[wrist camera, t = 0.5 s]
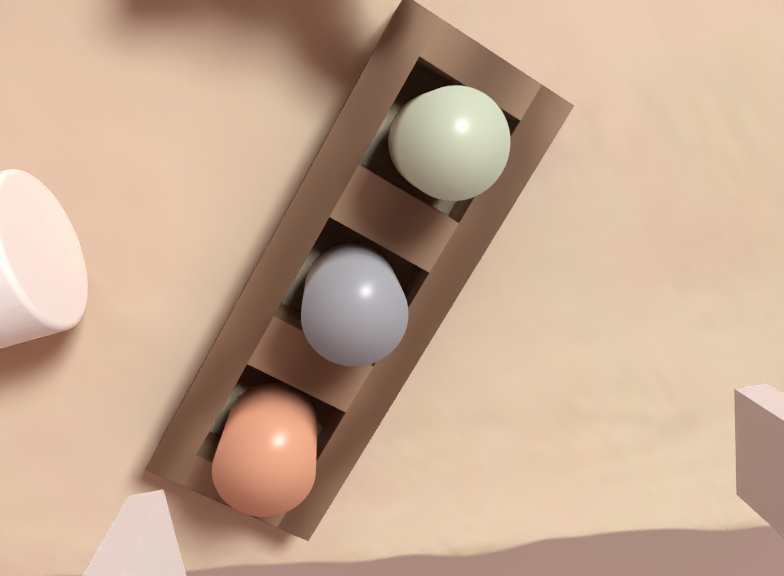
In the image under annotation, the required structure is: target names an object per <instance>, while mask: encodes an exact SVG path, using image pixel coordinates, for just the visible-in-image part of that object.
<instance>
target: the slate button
mask: <svg viewBox="0 0 784 576" xmlns="http://www.w3.org/2000/svg"><path fill="white" fill-rule="evenodd" d="M301 323H302V328H303V331H304V334H305V337H306V338H307V340H308V342H309V344H310V345H311V346H312V348H313V349H314V350H315V351H316V352H317V353H318V354H320V355H321V356H322V357H324V358H325V359H327V360H329V361H331V362H333V363H336V364H339V365H343V366H355V367H356V366H364V365H369V364H372V363H375V362H377V361H379V360H381V359H383V358H384V357H386V356H387V355H388V354H390V353H391V352H392V351H393V350H394V349H395V348H396V347H397V346H398V344H399V343H400V341H401V340H402V338H403V336H404V334H405V331H406V328H407V323H408V305H407V301H406V298H405V295H404V293H403V290H402V288H401V286H400V284H399V282H398V280H397V277H396V275H395V273H394V271H393V269H392V267H391V265H390V264H389V262H388V261H387V260H386V259H385V258H384V256H382V255H381V254H380V253H379V252H377V251H376V250H374V249H372V248H370V247H368V246H364V245H360V244H342V245H338V246H335V247H332V248H330V249H328V250H327V251H325V252H324V253H322V254H321V255H320V256H319V257H318V258H317V259H316V260H315V261H314V262H313V264H312V265H311V267H310V269H309V271H308V273H307V277H306V281H305V287H304V294H303V301H302V308H301Z"/></svg>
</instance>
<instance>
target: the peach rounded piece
mask: <svg viewBox="0 0 784 576" xmlns="http://www.w3.org/2000/svg"><path fill="white" fill-rule="evenodd" d="M316 451H317V415H316V411H315V409H314V407H313V405H312V403H311V402H310V400H309V399H308V398H307V397H306V396H305V395H304V394H303V393H302V392H300V391H299V390H297V389H296V388H294V387H291V386H289V385H285V384H281V383H265V384H260V385H257V386H254V387H252V388H250V389H248V390H247V391H245V392H244V393H243V394H241V395H240V396H239V397H238V399H237V400H236V401H235V403H234V404H233V406H232V408H231V410H230V413H229V416H228V419H227V422H226V424H225V427H224V430H223V433H222V436H221V439H220V442H219V445H218V448H217V451H216V453H215V456H214V460H213V464H212V478H213V482H214V486H215V488H216V490H217V492H218V493H219V495H220V497H221V498H222V499H223V500H224V501H225V502H226V503H227V504H228V505H229V506H231V507H232V508H234V509H235V510H237V511H239V512H241V513H244V514H247V515H251V516H257V517H270V516H276V515H280V514H283V513H286V512H288V511H290V510H292V509H293V508H295V507H296V506H298V505H299V504H300V503H301V502H302V501H303V500H304V499H305V498H306V497H307V495H308V494H309V493H310V491H311V489H312V487H313V484H314V481H315V476H316Z"/></svg>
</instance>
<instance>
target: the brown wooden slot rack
mask: <svg viewBox="0 0 784 576" xmlns="http://www.w3.org/2000/svg"><path fill="white" fill-rule="evenodd" d="M414 65H417V66H419V67H420V68H422V69H423V70H425V71H426V72H428V73H430V74H431V75H433V76H434V77H436V78H437V79H439V80H441V81H442V82H444V83H445V84H447V85H449V86H455V85H458V86H466V87H471V88H474V89H476V90H479V91H481V92H482V93H484V94H486V95H487V96H488V97H490V98H491V99H492V100H493V101H494V102H495V103H496V104H497V105H498V107H499V108H500V109H501V111H502V112H503V114H504V116H505V118H506V121H507V124H508V127H509V132H510V152H509V157H508V160H507V163H506V166H505V168H504V170H503V172H502V173H501V175H500V176H499V178H498V179H497V180H496V181H495V183H494V184H493V185H492V186H491V187H489V188H488V189H487V190H486V191H484V192H483V193H481V194H479V195H477V196H475V197H473V198H470V199H466V200H461V201H457V202H456V204H455V206H454V207H453V209H452V211H451V213H450V214H449V216H448V215H446V214H445V213H443V212H441V211H439V210H438V209H436V208H434V207H433V206H431V205H429V204H427V203H426V202H424V201H422V200H421V199H419V198H417V197H415V196H414V195H412V194H410V193H409V192H407V191H405V190H403V189H402V188H400V187H398V186H397V185H395V184H393V183H391V182H390V181H388V180H386V179H385V178H383V177H381V176H379V175H378V174H376V173H374V172H373V171H371V170H369V169H367V168H366V167H364V166H362V165H361V164H359V163H360V161H361V160H362V158H363V156H364V154H365V152H366V151H367V149H368V147H369V145H370V143H371V142H372V140H373V138H374V136H375V135H376V133H377V131H378V129H379V127H380V126H381V124H382V122H383V120H384V118H385V117H386V115H387V113H388V111H389V110H390V108H391V106H392V104H393V102H394V101H395V99H396V97H397V95H398V93H399V92H400V90H401V88H402V86H403V85H404V83H405V81H406V79H407V77H408V76H409V74H410V72H411V70H412V68H413V67H414ZM573 107H574V105H572V104H571V103H569V102H568V101H566V100H565V99H563V98H561V97H560V96H558V95H557V94H555V93H554V92H552V91H551V90H549V89H548V88H546V87H545V86H543V85H542V84H540V83H539V82H537V81H536V80H534V79H532V78H531V77H529V76H528V75H526V74H525V73H523V72H522V71H520V70H519V69H517V68H516V67H514V66H513V65H511V64H510V63H508V62H507V61H505V60H504V59H502V58H500V57H499V56H497V55H496V54H494V53H493V52H491V51H490V50H488V49H487V48H485V47H484V46H482V45H481V44H479V43H478V42H476V41H475V40H473V39H471V38H470V37H468V36H467V35H465V34H464V33H462V32H461V31H459V30H458V29H456V28H455V27H453V26H452V25H450V24H449V23H447V22H446V21H444V20H442V19H441V18H439V17H438V16H436V15H435V14H433V13H432V12H430V11H429V10H427V9H426V8H424V7H423V6H421V5H420V4H418V3H417V2H415V1H414V0H402V1H401V3H400V4H399V6H398V8H397V10H396V12H395V13H394V15H393V17H392V19H391V21H390V23H389V24H388V26H387V28H386V30H385V32H384V33H383V35H382V37H381V39H380V41H379V43H378V44H377V46H376V48H375V50H374V52H373V54H372V55H371V57H370V59H369V61H368V63H367V65H366V66H365V68H364V70H363V72H362V74H361V76H360V77H359V79H358V81H357V83H356V85H355V87H354V88H353V90H352V92H351V94H350V96H349V98H348V99H347V101H346V103H345V105H344V107H343V109H342V110H341V112H340V114H339V116H338V118H337V120H336V121H335V123H334V125H333V127H332V129H331V131H330V132H329V134H328V136H327V138H326V140H325V142H324V143H323V145H322V147H321V149H320V151H319V152H318V154H317V156H316V158H315V160H314V162H313V163H312V165H311V167H310V169H309V171H308V173H307V174H306V176H305V178H304V180H303V182H302V184H301V185H300V187H299V189H298V191H297V193H296V195H295V196H294V198H293V200H292V202H291V204H290V206H289V207H288V209H287V211H286V213H285V215H284V217H283V218H282V220H281V222H280V224H279V226H278V228H277V229H276V231H275V233H274V235H273V237H272V239H271V240H270V242H269V244H268V246H267V248H266V250H265V251H264V253H263V255H262V257H261V259H260V261H259V262H258V264H257V266H256V268H255V270H254V271H253V273H252V275H251V277H250V279H249V281H248V282H247V284H246V286H245V288H244V290H243V292H242V293H241V295H240V297H239V299H238V301H237V303H236V304H235V306H234V308H233V310H232V312H231V314H230V315H229V317H228V319H227V321H226V323H225V325H224V326H223V328H222V330H221V332H220V334H219V336H218V337H217V339H216V341H215V343H214V345H213V347H212V348H211V350H210V352H209V354H208V356H207V358H206V359H205V361H204V363H203V365H202V367H201V369H200V370H199V372H198V374H197V376H196V378H195V380H194V381H193V383H192V385H191V387H190V389H189V391H188V392H187V394H186V396H185V398H184V400H183V401H182V403H181V405H180V407H179V409H178V411H177V412H176V414H175V416H174V418H173V420H172V422H171V423H170V425H169V427H168V429H167V431H166V433H165V434H164V436H163V438H162V440H161V442H160V444H159V445H158V447H157V449H156V451H155V453H154V455H153V457H152V459H151V460H150V462H149V464H148V466H147V468H146V470H147V471H150V472H152V473H154V474H156V475H159V476H161V477H163V478H166V479H168V480H170V481H172V482H175V483H177V484H179V485H182V486H184V487H186V488H188V489H191V490H193V491H195V492H197V493H200V494H202V495H204V496H207V497H209V498H211V499H213V500H216V501H218V502H220V503H223V504H225V505H227V506H229V505H228V504H227V503H226V502H225V501H224V500H223V499H222V498H221V497H220V495H219V493H218V492H217V490H216V488H215V486H214V482H213V478H212V464H213V460H214V456H215V453H216V451H217V448H218V445H219V442H220V439H221V437H219V436H217V435H215V434H213V433H211V432H209V431H210V429H211V428H212V426H213V424H214V422H215V421H216V419H217V417H218V415H219V413H220V412H221V410H222V408H223V406H224V404H225V403H226V401H227V399H228V397H229V395H230V394H231V392H232V390H233V388H234V387H235V385H236V383H237V381H238V379H239V378H240V376H241V374H242V372H243V370H244V369H245V367H246V365H247V364H248V365H250V366H252V367H254V368H256V369H258V370H260V371H262V372H264V373H266V374H269V375H271V376H273V377H275V378H277V379H279V380H281V381H283V382H285V383H287V384H289V385H291V386H293V387H295V388H297V389H299V390H301V391H303V392H305V393H307V394H309V395H311V396H313V397H315V398H317V399H319V400H321V401H324V402H326V403H328V404H330V405H332V406H334V407H335V408H334V410H333V411H332V413H331V415H330V416H329V418H328V420H327V421H326V423H325V425H324V426H323V428H322V430H321V431H320V433H319V435H318V437H317V451H316V476H315V481H314V484H313V487H312V489H311V491H310V493H309V494H308V495H307V497H306V498H305V499H304V500H303V501H302V502H301V503H300V504H299V505H298V506H296V507H295V508H293V509H292V510H290V511H288V512H286V513H283V514H280V515H276V516H270V517H257V516H252V517H254V518H257V519H259V520H261V521H264V522H266V523H268V524H270V525H273V526H275V527H277V528H280V529H282V530H284V531H286V532H289V533H291V534H293V535H295V536H298V537H300V538H302V539H305V540H307V541H309V539H310V538H311V536H312V534H313V533H314V531H315V529H316V528H317V526H318V524H319V523H320V521H321V519H322V518H323V516H324V515H325V513H326V511H327V510H328V508H329V506H330V505H331V503H332V501H333V500H334V498H335V497H336V495H337V493H338V492H339V490H340V488H341V487H342V485H343V483H344V482H345V480H346V479H347V477H348V475H349V474H350V472H351V470H352V469H353V467H354V465H355V464H356V462H357V461H358V459H359V457H360V456H361V454H362V452H363V451H364V449H365V447H366V446H367V444H368V443H369V441H370V439H371V438H372V436H373V434H374V433H375V431H376V429H377V428H378V426H379V425H380V423H381V421H382V420H383V418H384V416H385V415H386V413H387V411H388V410H389V408H390V406H391V405H392V403H393V402H394V400H395V398H396V397H397V395H398V393H399V392H400V390H401V388H402V387H403V385H404V384H405V382H406V380H407V379H408V377H409V375H410V374H411V372H412V370H413V369H414V367H415V366H416V364H417V362H418V361H419V359H420V357H421V356H422V354H423V352H424V351H425V349H426V348H427V346H428V344H429V343H430V341H431V339H432V338H433V336H434V334H435V333H436V331H437V330H438V328H439V326H440V325H441V323H442V321H443V320H444V318H445V316H446V315H447V313H448V311H449V310H450V308H451V307H452V305H453V303H454V302H455V300H456V298H457V297H458V295H459V293H460V292H461V290H462V289H463V287H464V285H465V284H466V282H467V280H468V279H469V277H470V275H471V274H472V272H473V271H474V269H475V267H476V266H477V264H478V262H479V261H480V259H481V257H482V256H483V254H484V253H485V251H486V249H487V248H488V246H489V244H490V243H491V241H492V239H493V238H494V236H495V235H496V233H497V231H498V230H499V228H500V226H501V225H502V223H503V221H504V220H505V218H506V217H507V215H508V213H509V212H510V210H511V208H512V207H513V205H514V203H515V202H516V200H517V198H518V197H519V195H520V194H521V192H522V190H523V189H524V187H525V185H526V184H527V182H528V180H529V179H530V177H531V176H532V174H533V172H534V171H535V169H536V167H537V166H538V164H539V162H540V161H541V159H542V158H543V156H544V154H545V153H546V151H547V149H548V148H549V146H550V144H551V143H552V141H553V140H554V138H555V136H556V135H557V133H558V131H559V130H560V128H561V126H562V125H563V123H564V122H565V120H566V118H567V117H568V115H569V113H570V112H571V110H572V108H573ZM329 217H331V218H332V219H334V220H336V221H338V222H340V223H341V224H343V225H345V226H347V227H349V228H350V229H352V230H354V231H356V232H357V233H359V234H361V235H363V236H365V237H366V238H368V239H370V240H372V241H374V242H375V243H377V244H379V245H381V246H383V247H384V248H386V249H388V250H390V251H392V252H393V253H395V254H397V255H399V256H400V257H402V258H404V259H406V260H408V261H409V262H411V263H413V264H415V265H417V266H418V268H417V270H416V271H415V273H414V275H413V277H412V278H411V280H410V282H409V283H408V285H407V287H406V288H405V290H404V292H403V293H404V295H405V298H406V301H407V305H408V323H407V328H406V331H405V334H404V336H403V338H402V340H401V341H400V343H399V344H398V346H397V347H396V348H395V349H394V350H393V351H392V352H391V353H390V354H388V355H387V356H386V357H384V358H383V359H381V360H379V361H377V362H375V363H372V364H369V365H364V366H356V367H355V366H343V365H339V364H336V363H333V362H331V361H329V360H327V359H325V358H324V357H322V356H321V355H320V354H318V353H317V352H316V351H315V350H314V349H313V348H312V346H311V345H310V344H309V342H308V340H307V338H306V337H305V334H304V331H303V328H302V323H301V313H299V312H297V311H296V310H294V309H292V308H290V307H288V306H286V305H284V304H282V301H283V299H284V297H285V295H286V294H287V292H288V290H289V288H290V286H291V285H292V283H293V281H294V279H295V278H296V276H297V274H298V272H299V270H300V269H301V267H302V265H303V263H304V261H305V260H306V258H307V256H308V254H309V253H310V251H311V249H312V247H313V245H314V244H315V242H316V240H317V238H318V236H319V235H320V233H321V231H322V229H323V227H324V226H325V224H326V222H327V220H328V219H329ZM229 507H231V506H229ZM250 516H251V515H250Z"/></svg>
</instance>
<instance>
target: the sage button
mask: <svg viewBox="0 0 784 576" xmlns="http://www.w3.org/2000/svg"><path fill="white" fill-rule="evenodd" d="M388 147H389V153H390V157H391V160H392V162H393V164H394V166H395V168H396V170H397V171H398V172H399V174H400V175H401V176H402V177H403V178H404V179H405V180H406V181H408V182H409V183H411V184H412V185H414V186H415V187H417V188H418V189H420V190H421V191H423V192H424V193H426V194H428V195H430V196H432V197H434V198H437V199H440V200H445V201H461V200H466V199H470V198H473V197H475V196H477V195H479V194H481V193H483V192H484V191H486V190H487V189H488V188H489V187H491V186H492V185H493V184H494V183H495V181H496V180H497V179H498V178H499V176H500V175H501V173H502V172H503V170H504V168H505V166H506V163H507V160H508V157H509V152H510V132H509V127H508V124H507V121H506V118H505V116H504V114H503V112H502V111H501V109H500V108H499V107H498V105H497V104H496V103H495V102H494V101H493V100H492V99H491V98H490V97H488V96H487V95H486V94H484V93H482V92H481V91H479V90H476V89H474V88H471V87H466V86H458V85H455V86H446V87H441V88H439V89H436V90H433V91H430V92H427V93H424V94H422V95H419V96H417V97H415V98H413V99H411V100H410V101H408V102H407V103H406V104H405V105H404V106H403V107H402V108H401V109H400V110H399V111H398V113H397V114H396V116H395V118H394V120H393V122H392V124H391V127H390V131H389V137H388Z"/></svg>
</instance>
